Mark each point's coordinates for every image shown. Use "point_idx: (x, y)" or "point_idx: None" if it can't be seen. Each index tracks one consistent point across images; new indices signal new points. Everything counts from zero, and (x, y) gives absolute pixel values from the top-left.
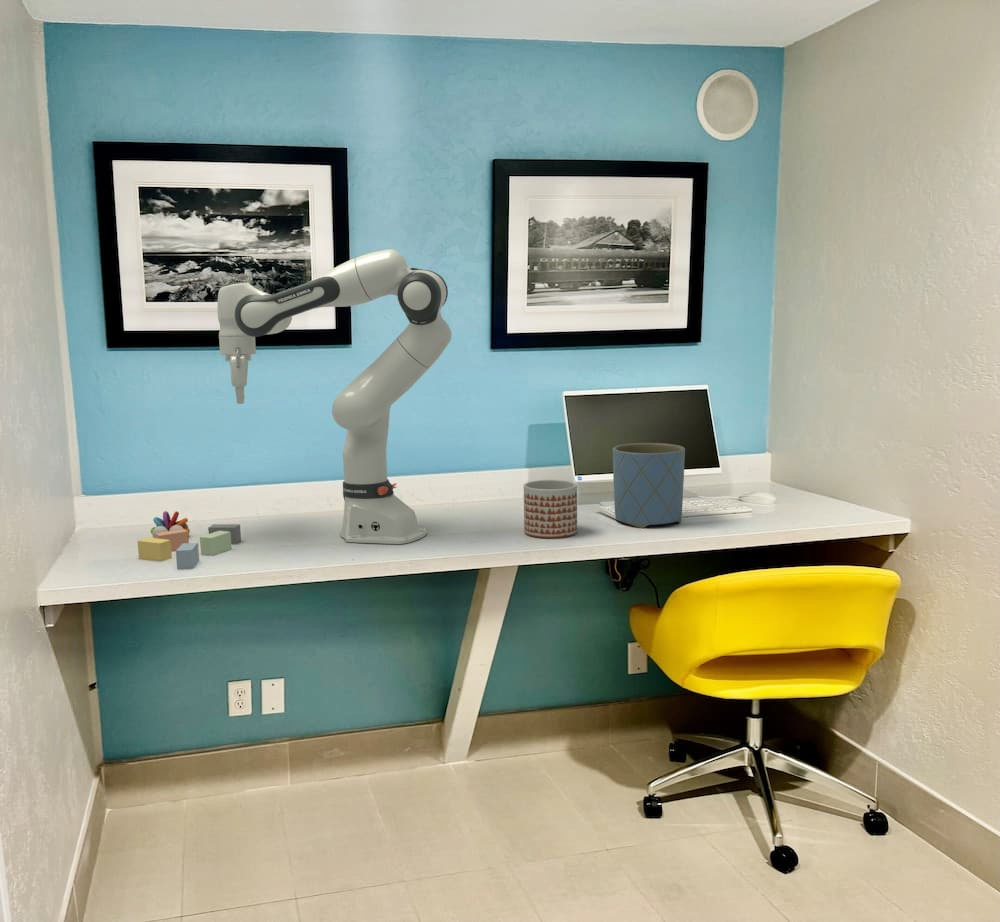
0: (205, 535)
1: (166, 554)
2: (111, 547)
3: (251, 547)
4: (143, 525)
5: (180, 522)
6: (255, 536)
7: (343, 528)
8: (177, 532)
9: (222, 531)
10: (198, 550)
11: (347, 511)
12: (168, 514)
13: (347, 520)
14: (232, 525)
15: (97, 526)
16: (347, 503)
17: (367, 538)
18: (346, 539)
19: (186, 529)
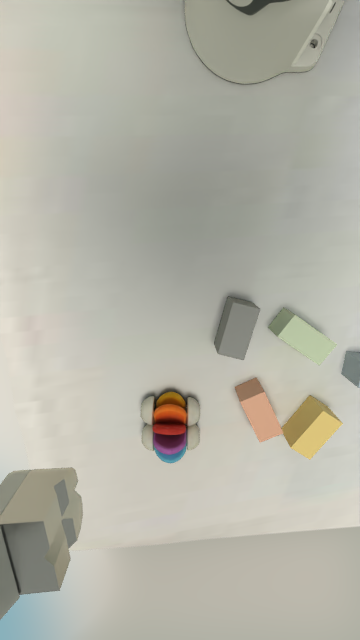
0: (310, 357)
1: (321, 404)
2: (212, 488)
3: (284, 272)
4: None
5: (184, 414)
6: (198, 272)
7: (272, 64)
8: (267, 407)
9: (287, 330)
10: (356, 357)
11: (319, 18)
12: (162, 443)
13: (312, 35)
14: (239, 316)
15: None
16: (309, 2)
17: (335, 8)
18: (312, 66)
19: (178, 398)
